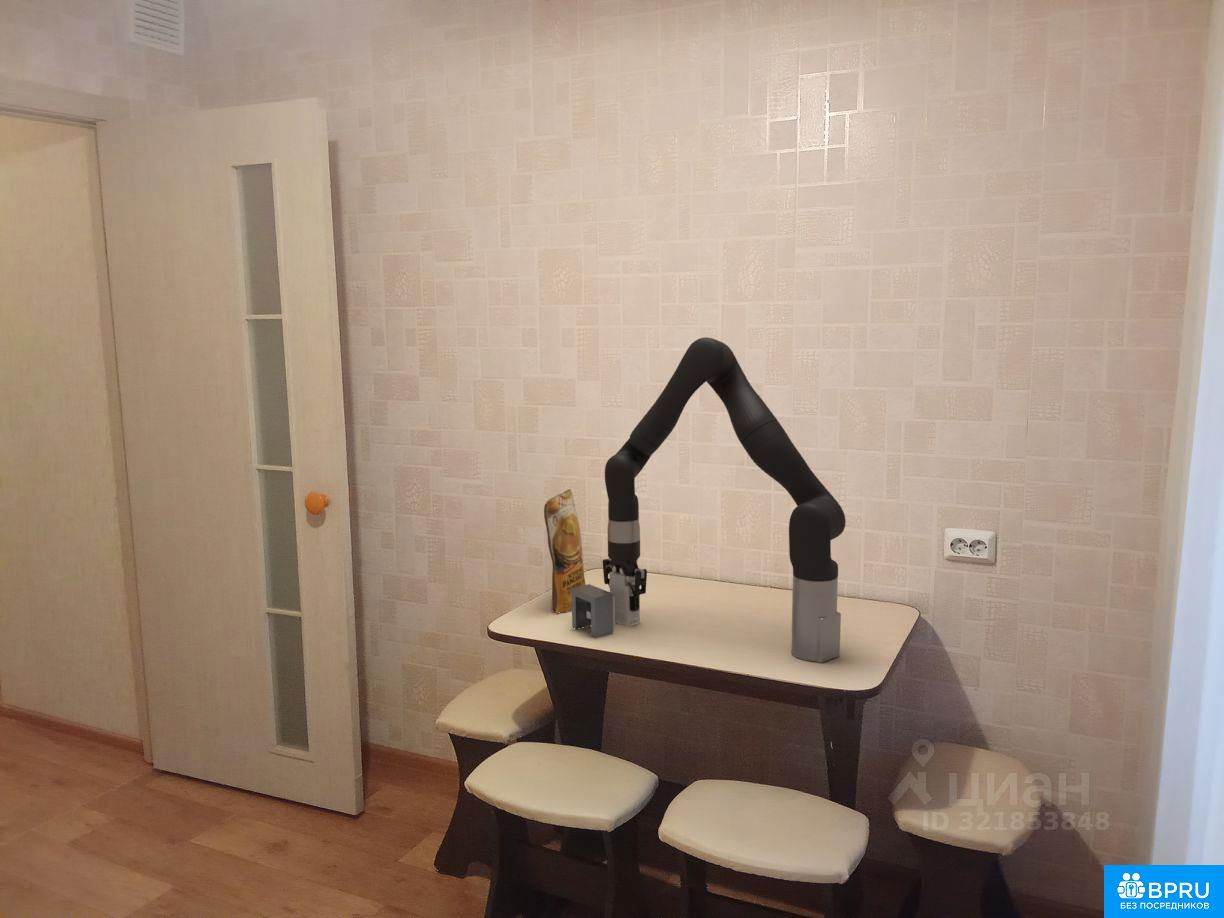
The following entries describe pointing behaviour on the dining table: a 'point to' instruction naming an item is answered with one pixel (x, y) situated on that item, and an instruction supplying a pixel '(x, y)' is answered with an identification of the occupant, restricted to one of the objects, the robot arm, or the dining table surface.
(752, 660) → the dining table surface
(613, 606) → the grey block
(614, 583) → the skincare box
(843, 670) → the dining table surface
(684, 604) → the dining table surface
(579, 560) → the pancake mix bag
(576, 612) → the grey hollow block
